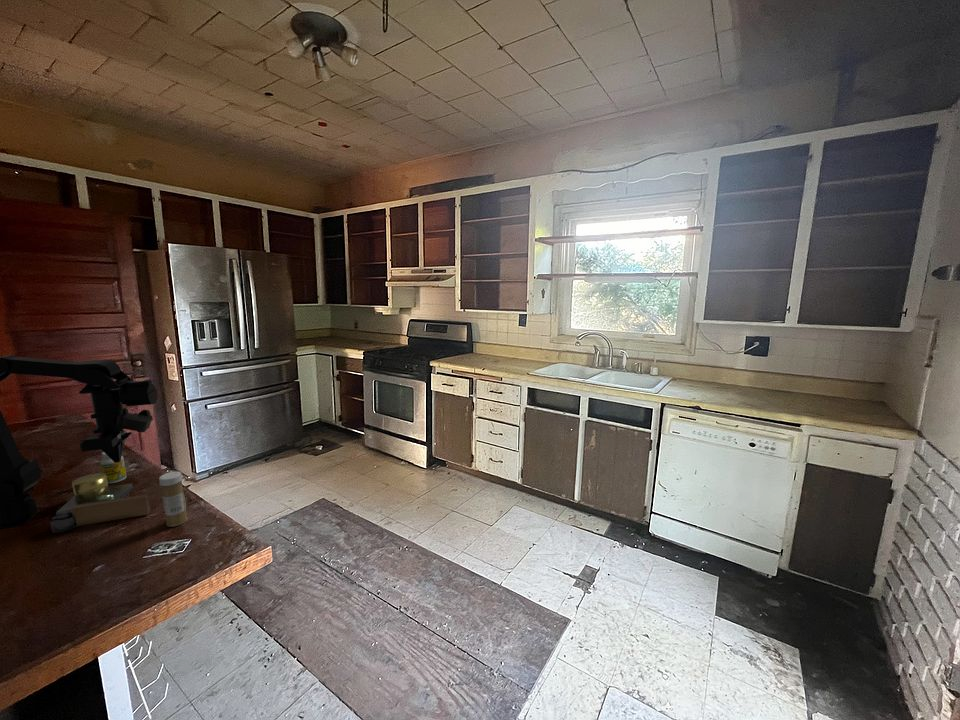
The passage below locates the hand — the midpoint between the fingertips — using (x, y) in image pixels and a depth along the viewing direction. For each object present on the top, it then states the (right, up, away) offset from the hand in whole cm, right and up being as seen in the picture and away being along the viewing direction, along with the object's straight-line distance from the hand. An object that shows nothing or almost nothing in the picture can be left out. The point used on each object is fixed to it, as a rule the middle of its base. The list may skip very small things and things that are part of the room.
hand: (117, 461), depth 109 cm
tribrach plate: (-9, -12, +4) cm, 16 cm away
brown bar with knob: (+1, -14, -6) cm, 15 cm away
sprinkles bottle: (+20, -15, -5) cm, 26 cm away
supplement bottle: (-16, -10, +16) cm, 25 cm away
